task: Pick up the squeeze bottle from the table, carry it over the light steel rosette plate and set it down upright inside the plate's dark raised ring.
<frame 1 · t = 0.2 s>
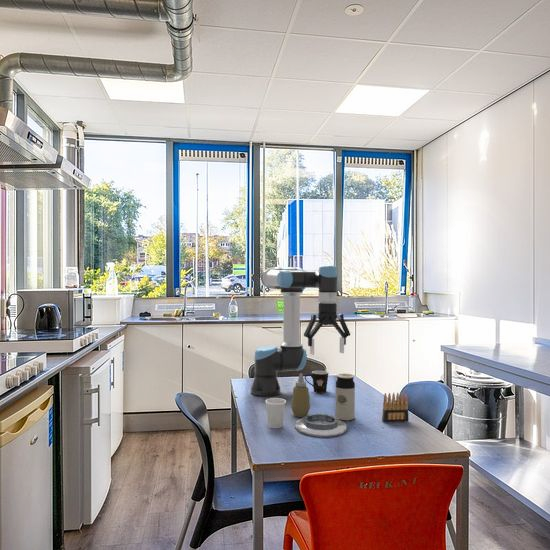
hand: (327, 353, 183), 27 cm above the table, tool pointing down, fingers open, 13 cm apart
travel mug: (344, 418, 185), on the table
ammunition clip: (395, 422, 181), on the table
rosette plate: (320, 428, 172), on the table
dixie cup: (275, 426, 174), on the table
coffee mug: (317, 391, 229), on the table
squeeze bottle: (300, 415, 188), on the table
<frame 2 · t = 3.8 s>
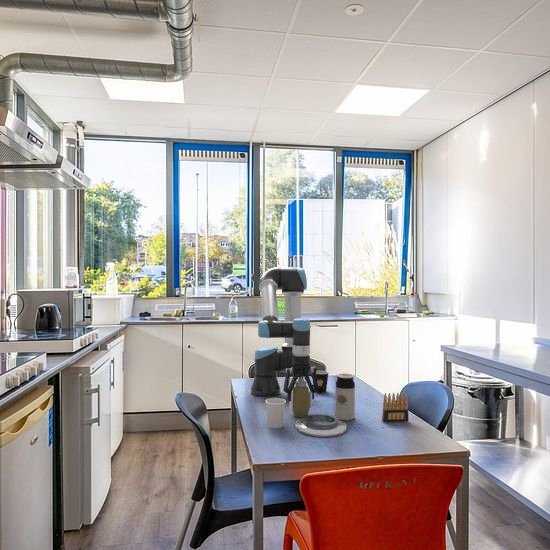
hand: (300, 407, 188), 3 cm above the table, tool pointing down, fingers closed on squeeze bottle, 8 cm apart
squeeze bottle: (300, 415, 188), on the table, touching gripper
everything else where it was.
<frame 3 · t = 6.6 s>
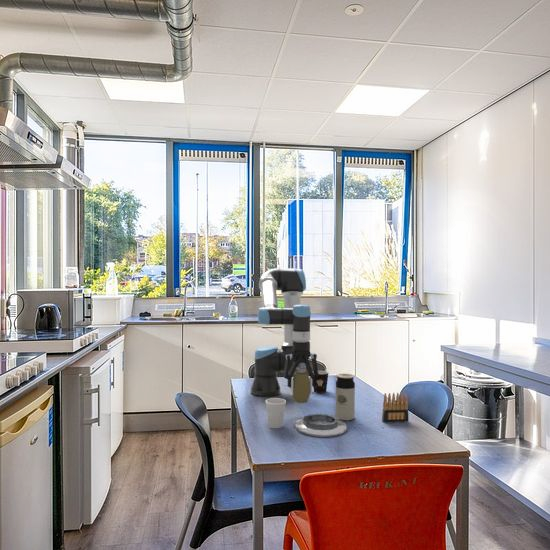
hand: (300, 394, 188), 9 cm above the table, tool pointing down, fingers closed on squeeze bottle, 8 cm apart
squeeze bottle: (300, 402, 188), point 6 cm above the table, touching gripper
everything else where it was.
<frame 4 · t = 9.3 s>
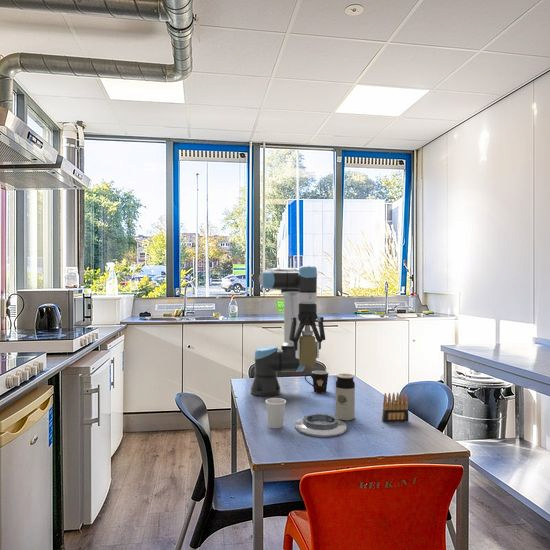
hand: (307, 357, 182), 26 cm above the table, tool pointing down, fingers closed on squeeze bottle, 8 cm apart
squeeze bottle: (307, 365, 182), point 22 cm above the table, touching gripper
everything else where it was.
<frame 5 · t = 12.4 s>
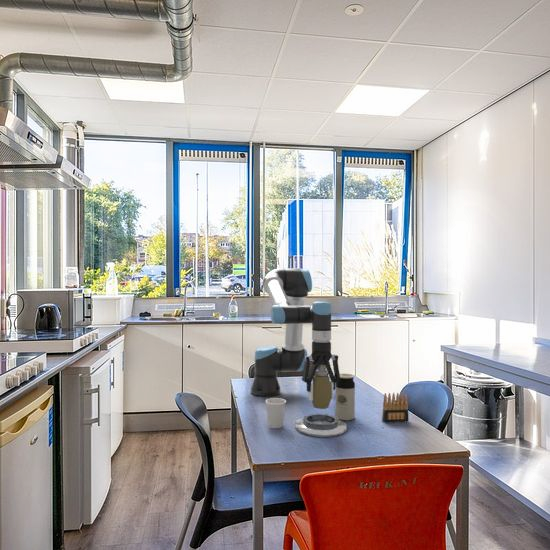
hand: (321, 399, 172), 11 cm above the table, tool pointing down, fingers closed on squeeze bottle, 8 cm apart
squeeze bottle: (320, 407, 172), point 8 cm above the table, touching gripper
everything else where it was.
when the fingers open (6 cm above the table, at t = 14.9 s): squeeze bottle stays where it is, resting on rosette plate.
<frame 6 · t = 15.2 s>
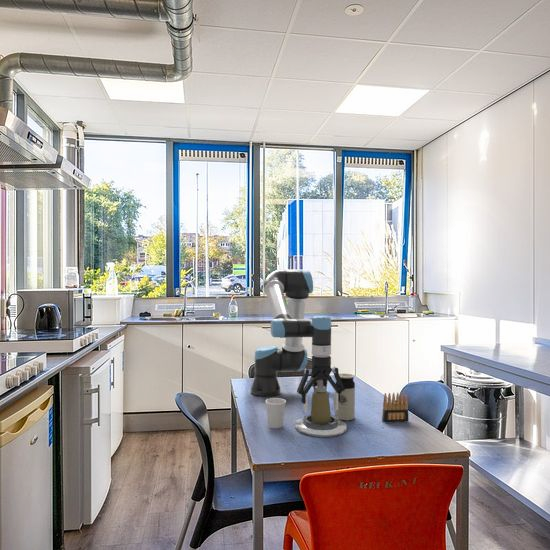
hand: (320, 410, 172), 7 cm above the table, tool pointing down, fingers open, 12 cm apart
squeeze bottle: (320, 424, 172), point 1 cm above the table, touching rosette plate
everything else where it was.
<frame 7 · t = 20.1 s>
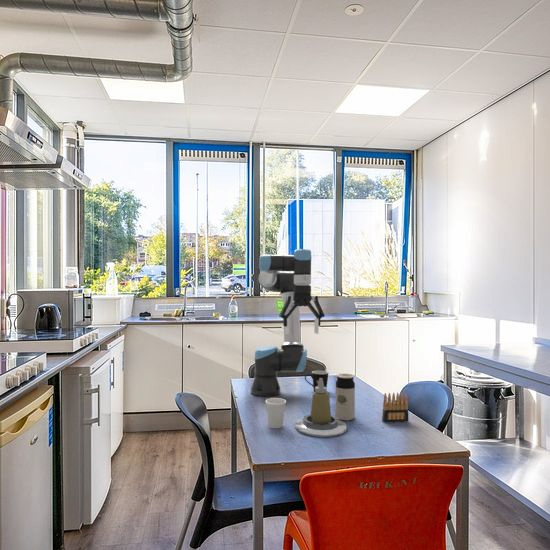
hand: (301, 333, 190), 35 cm above the table, tool pointing down, fingers open, 13 cm apart
nothing on the table moved.
at the end: squeeze bottle 0.0 cm off-centre on the rosette plate, point 1.3 cm above the rosette plate's base; squeeze bottle tilted 0°; the gripper is holding nothing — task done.
